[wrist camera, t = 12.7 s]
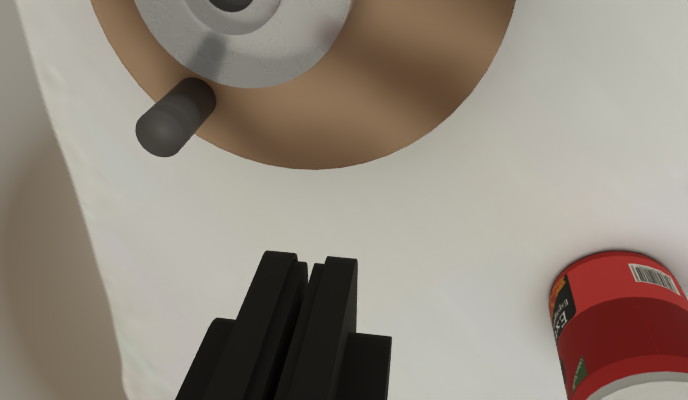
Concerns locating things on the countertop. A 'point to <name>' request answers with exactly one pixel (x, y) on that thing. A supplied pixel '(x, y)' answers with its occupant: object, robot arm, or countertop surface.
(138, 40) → the turntable
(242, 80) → the cover
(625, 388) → the canned food
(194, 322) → the countertop surface
